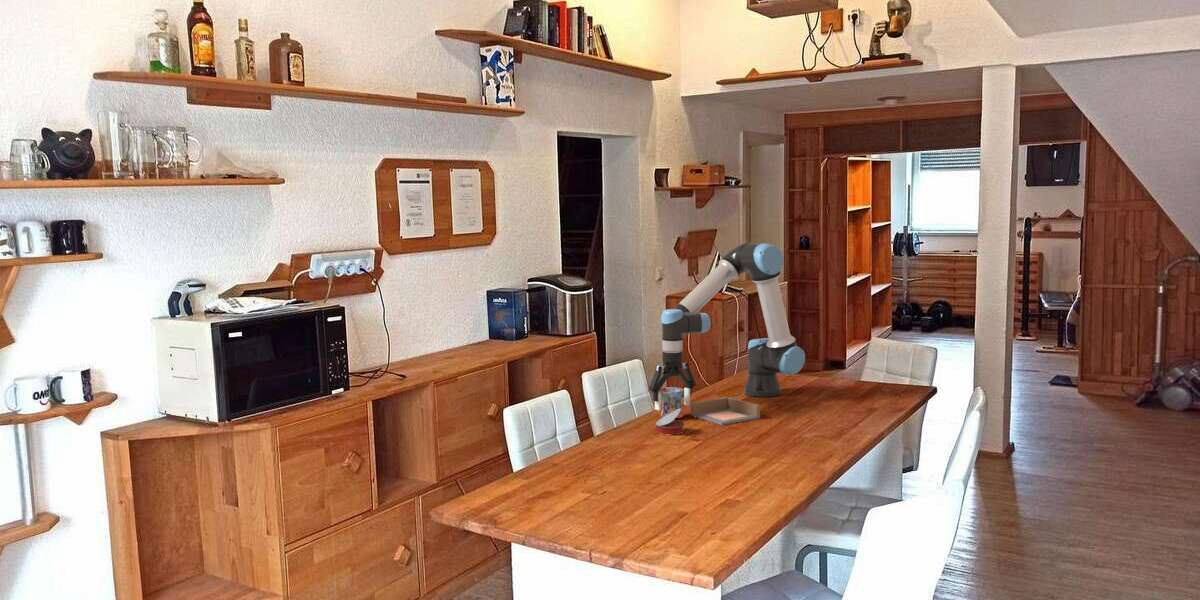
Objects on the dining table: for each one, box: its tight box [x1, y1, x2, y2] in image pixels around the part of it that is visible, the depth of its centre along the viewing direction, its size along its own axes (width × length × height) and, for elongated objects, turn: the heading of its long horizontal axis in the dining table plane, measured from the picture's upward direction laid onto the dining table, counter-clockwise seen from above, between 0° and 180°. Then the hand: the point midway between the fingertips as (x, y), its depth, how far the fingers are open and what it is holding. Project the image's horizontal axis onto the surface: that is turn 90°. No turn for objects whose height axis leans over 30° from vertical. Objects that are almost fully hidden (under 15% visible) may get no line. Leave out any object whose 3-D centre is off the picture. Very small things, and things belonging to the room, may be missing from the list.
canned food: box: [655, 408, 685, 435], centre depth 319 cm, size 11×10×10 cm
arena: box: [690, 396, 761, 426], centre depth 339 cm, size 18×18×5 cm
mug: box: [659, 386, 684, 419], centre depth 341 cm, size 12×9×11 cm
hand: (672, 407), depth 341 cm, fingers open, 13 cm apart
